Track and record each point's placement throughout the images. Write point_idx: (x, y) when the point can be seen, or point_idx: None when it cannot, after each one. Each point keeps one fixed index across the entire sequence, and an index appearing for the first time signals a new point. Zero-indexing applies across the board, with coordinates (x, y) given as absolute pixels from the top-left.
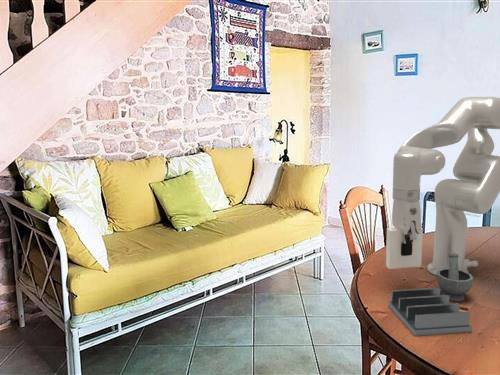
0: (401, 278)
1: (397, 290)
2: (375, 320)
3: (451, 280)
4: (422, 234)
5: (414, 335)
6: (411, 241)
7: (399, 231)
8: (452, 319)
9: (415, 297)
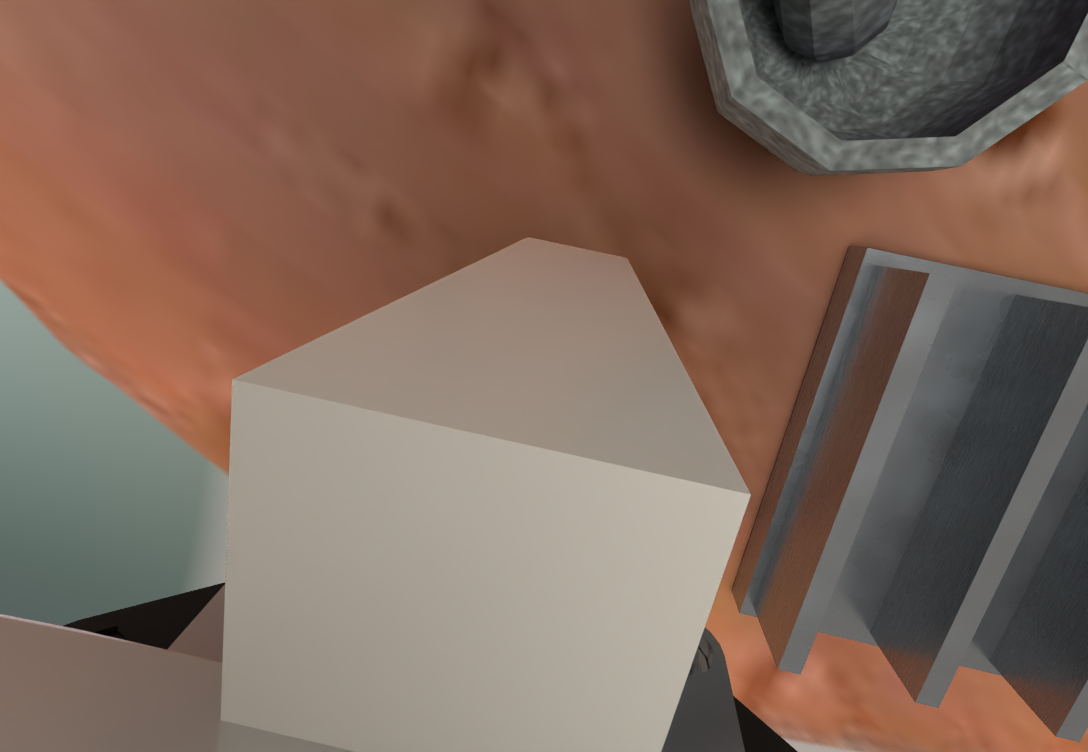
0: (368, 227)
1: (800, 633)
2: (845, 746)
3: (1021, 122)
4: (684, 377)
5: None
6: (762, 748)
7: None
8: None
9: (976, 594)
